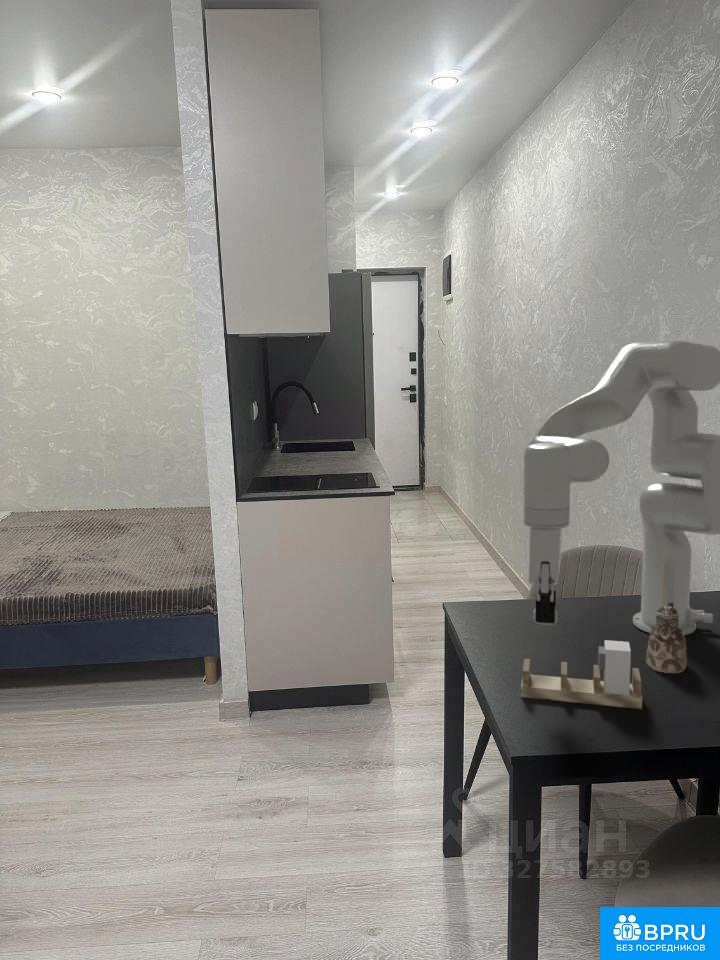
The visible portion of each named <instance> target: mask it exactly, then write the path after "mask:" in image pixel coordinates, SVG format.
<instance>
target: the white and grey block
mask: <svg viewBox="0 0 720 960" xmlns="http://www.w3.org/2000/svg"><path fill="white" fill-rule="evenodd" d="M603 643H604V646H600V645H598V650H597V651H598V654H597V656H598V657H597V659H598V661H597V662H598V664H597V665H598V666H599V670H600V671H603V681H604V682H603V683H604V692H605V693H608V694H619V695H629V692H630V684H631V683H630V682H631V660H632V659H631V658H632V657H631V656H632V655H631V654H632V653H631V646H630V642H629V641H622V640H620V641H619V640H607V639H605V640H604V642H603Z"/></svg>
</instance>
